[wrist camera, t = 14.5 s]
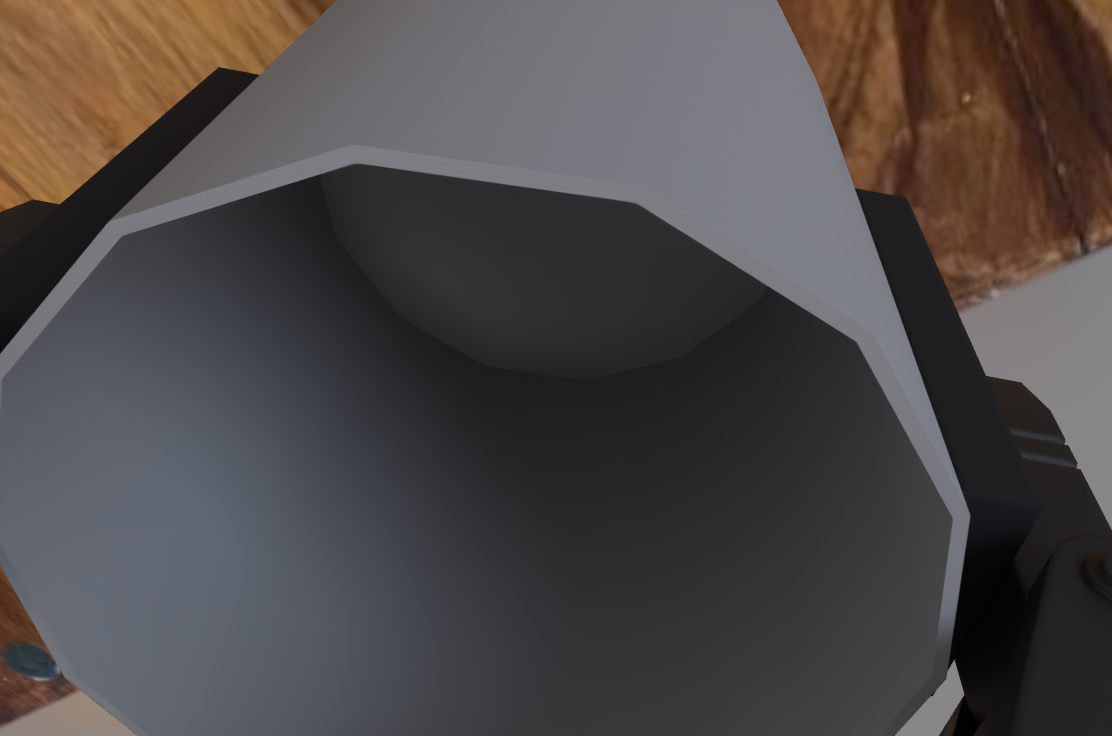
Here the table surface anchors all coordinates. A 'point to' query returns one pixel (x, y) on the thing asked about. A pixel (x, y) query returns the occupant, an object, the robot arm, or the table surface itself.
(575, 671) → the cup
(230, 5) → the table surface
